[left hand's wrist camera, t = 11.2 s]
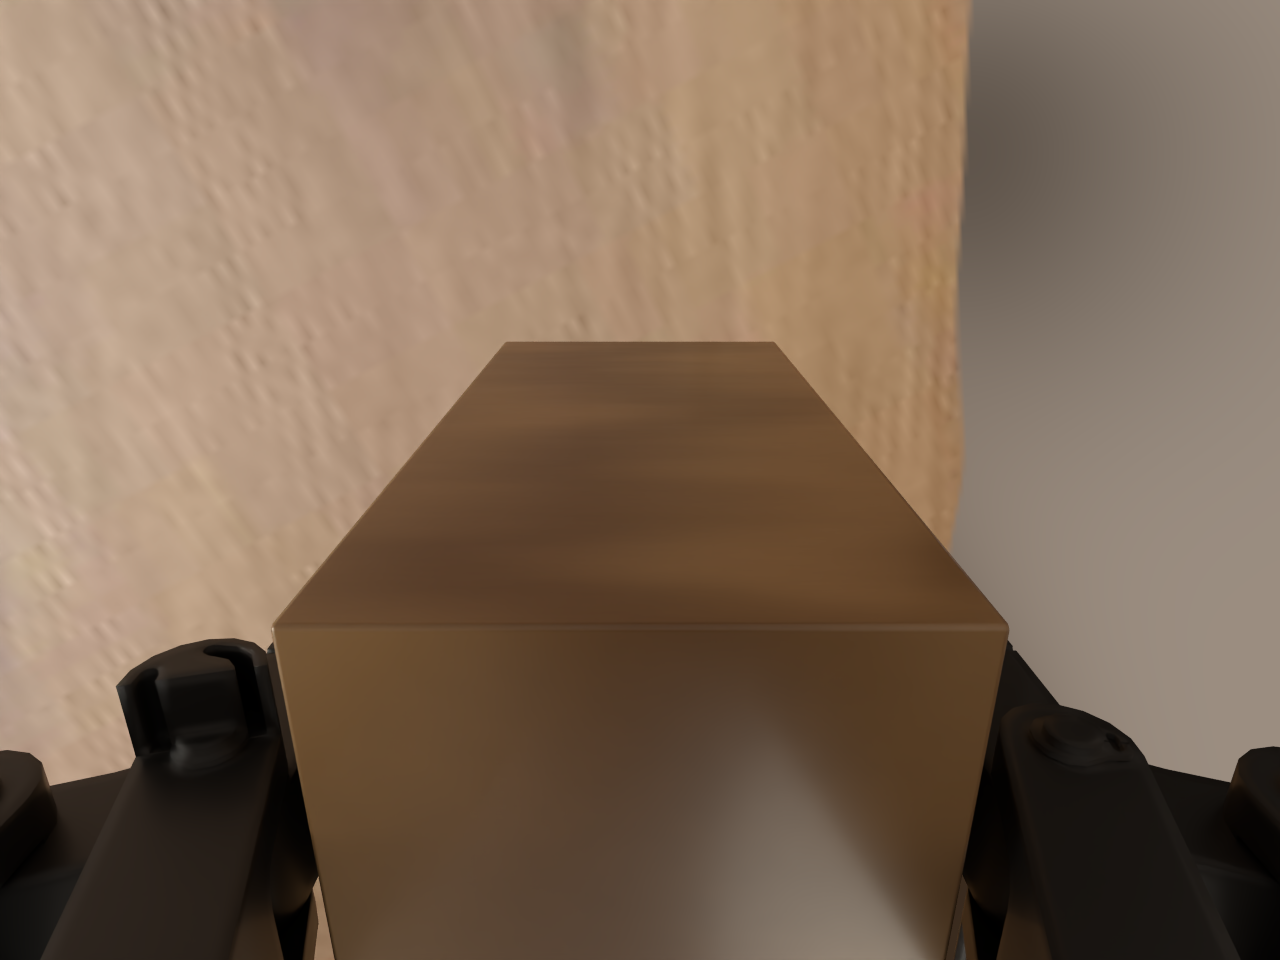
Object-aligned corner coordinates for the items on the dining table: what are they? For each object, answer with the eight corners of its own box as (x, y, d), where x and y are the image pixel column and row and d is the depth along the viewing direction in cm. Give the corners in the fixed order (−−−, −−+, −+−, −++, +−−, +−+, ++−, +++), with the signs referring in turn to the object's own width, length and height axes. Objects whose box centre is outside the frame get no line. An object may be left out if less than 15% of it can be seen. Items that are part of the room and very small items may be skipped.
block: (775, 341, 15) (1012, 626, 6) (757, 621, 18) (906, 1175, 8) (504, 341, 15) (266, 626, 6) (521, 621, 18) (374, 1174, 8)
